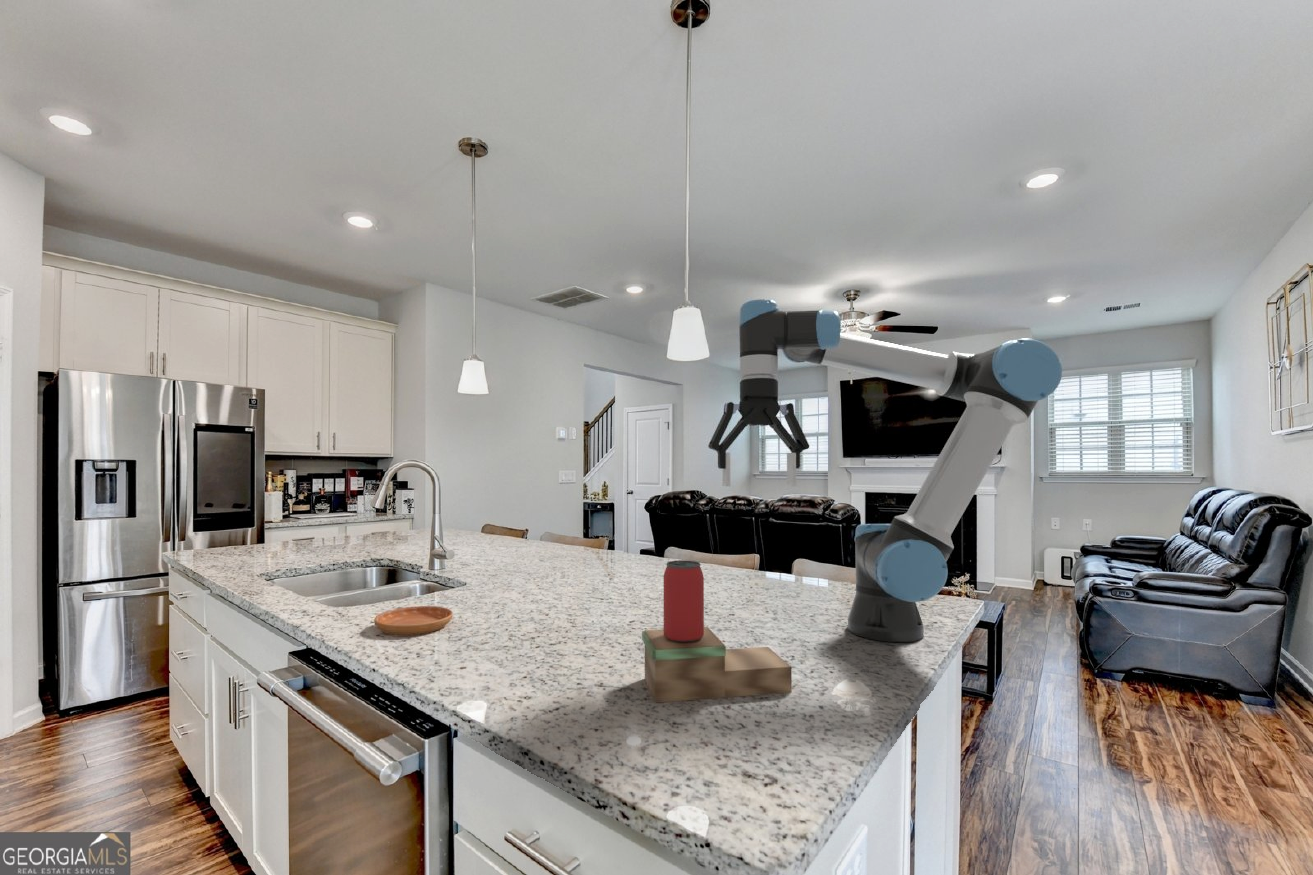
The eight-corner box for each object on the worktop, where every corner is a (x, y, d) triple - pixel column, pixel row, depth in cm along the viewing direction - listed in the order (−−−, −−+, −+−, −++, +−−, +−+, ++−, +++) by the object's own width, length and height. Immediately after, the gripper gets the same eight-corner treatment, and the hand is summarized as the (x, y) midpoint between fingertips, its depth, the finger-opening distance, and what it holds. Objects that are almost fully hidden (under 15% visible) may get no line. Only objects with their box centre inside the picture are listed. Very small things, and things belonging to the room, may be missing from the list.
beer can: (682, 629, 100) (682, 558, 100) (712, 637, 95) (712, 563, 96) (654, 637, 95) (654, 563, 96) (684, 646, 90) (684, 568, 91)
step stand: (768, 670, 103) (768, 623, 103) (792, 693, 93) (792, 642, 93) (642, 678, 99) (642, 630, 99) (652, 704, 88) (653, 650, 89)
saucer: (466, 620, 135) (466, 607, 135) (423, 641, 119) (424, 627, 119) (405, 616, 139) (405, 603, 139) (356, 636, 123) (357, 622, 123)
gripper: (808, 383, 123) (809, 484, 122) (693, 380, 118) (693, 485, 118) (825, 378, 116) (826, 485, 115) (703, 374, 111) (703, 486, 110)
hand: (759, 485), depth 116 cm, fingers open, 13 cm apart
